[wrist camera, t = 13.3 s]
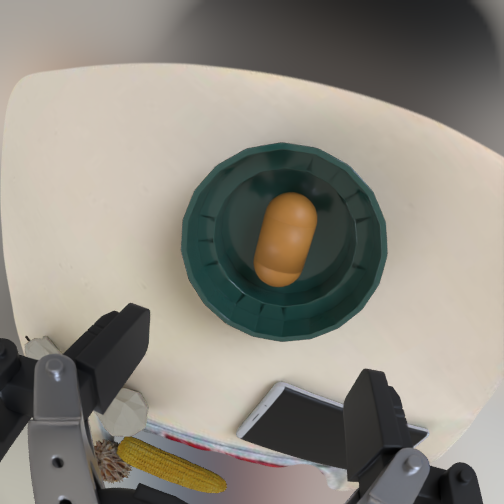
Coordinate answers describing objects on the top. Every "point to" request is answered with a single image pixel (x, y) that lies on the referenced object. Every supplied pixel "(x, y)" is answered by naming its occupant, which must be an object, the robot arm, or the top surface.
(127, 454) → the food
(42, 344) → the faceted club
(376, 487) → the robot arm
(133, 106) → the top surface
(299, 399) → the smartphone
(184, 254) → the green round bowl
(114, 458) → the pine cone
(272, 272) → the bread roll
